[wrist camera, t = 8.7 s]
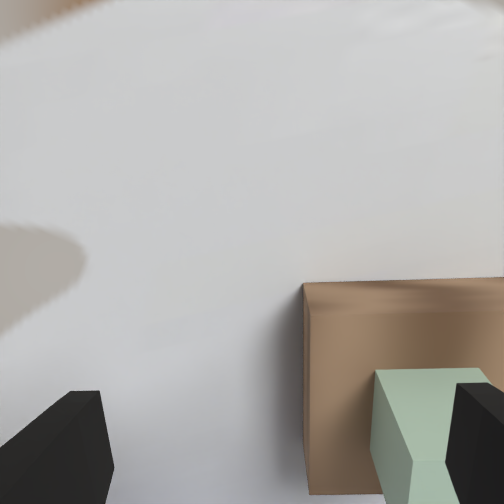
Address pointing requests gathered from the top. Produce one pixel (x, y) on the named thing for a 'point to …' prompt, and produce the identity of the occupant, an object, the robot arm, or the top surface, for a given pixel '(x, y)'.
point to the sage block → (415, 432)
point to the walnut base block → (384, 359)
